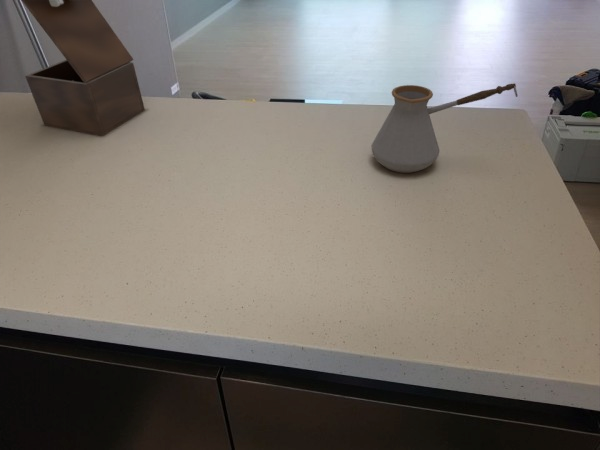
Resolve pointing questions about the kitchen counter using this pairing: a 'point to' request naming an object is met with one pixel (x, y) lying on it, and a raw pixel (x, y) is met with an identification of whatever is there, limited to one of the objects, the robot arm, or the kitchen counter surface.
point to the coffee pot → (415, 128)
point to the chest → (86, 98)
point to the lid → (81, 36)
